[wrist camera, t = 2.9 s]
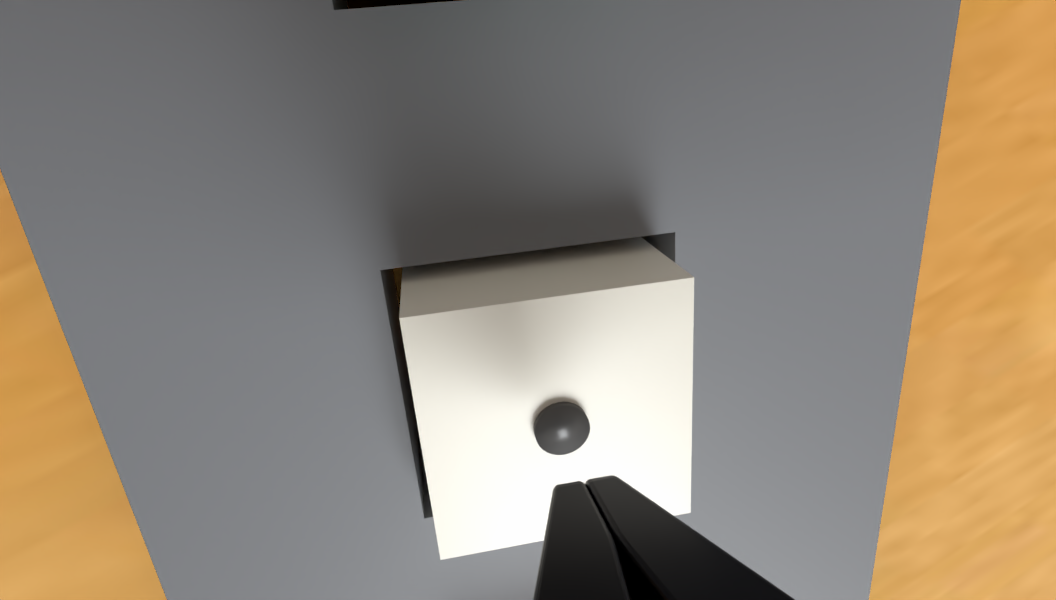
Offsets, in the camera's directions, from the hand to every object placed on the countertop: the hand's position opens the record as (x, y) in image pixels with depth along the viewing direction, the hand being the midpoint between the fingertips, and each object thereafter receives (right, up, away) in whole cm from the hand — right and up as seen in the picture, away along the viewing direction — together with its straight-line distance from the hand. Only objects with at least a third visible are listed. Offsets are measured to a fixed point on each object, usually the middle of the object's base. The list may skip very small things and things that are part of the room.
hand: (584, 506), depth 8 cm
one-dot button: (-1, +2, +4) cm, 4 cm away
